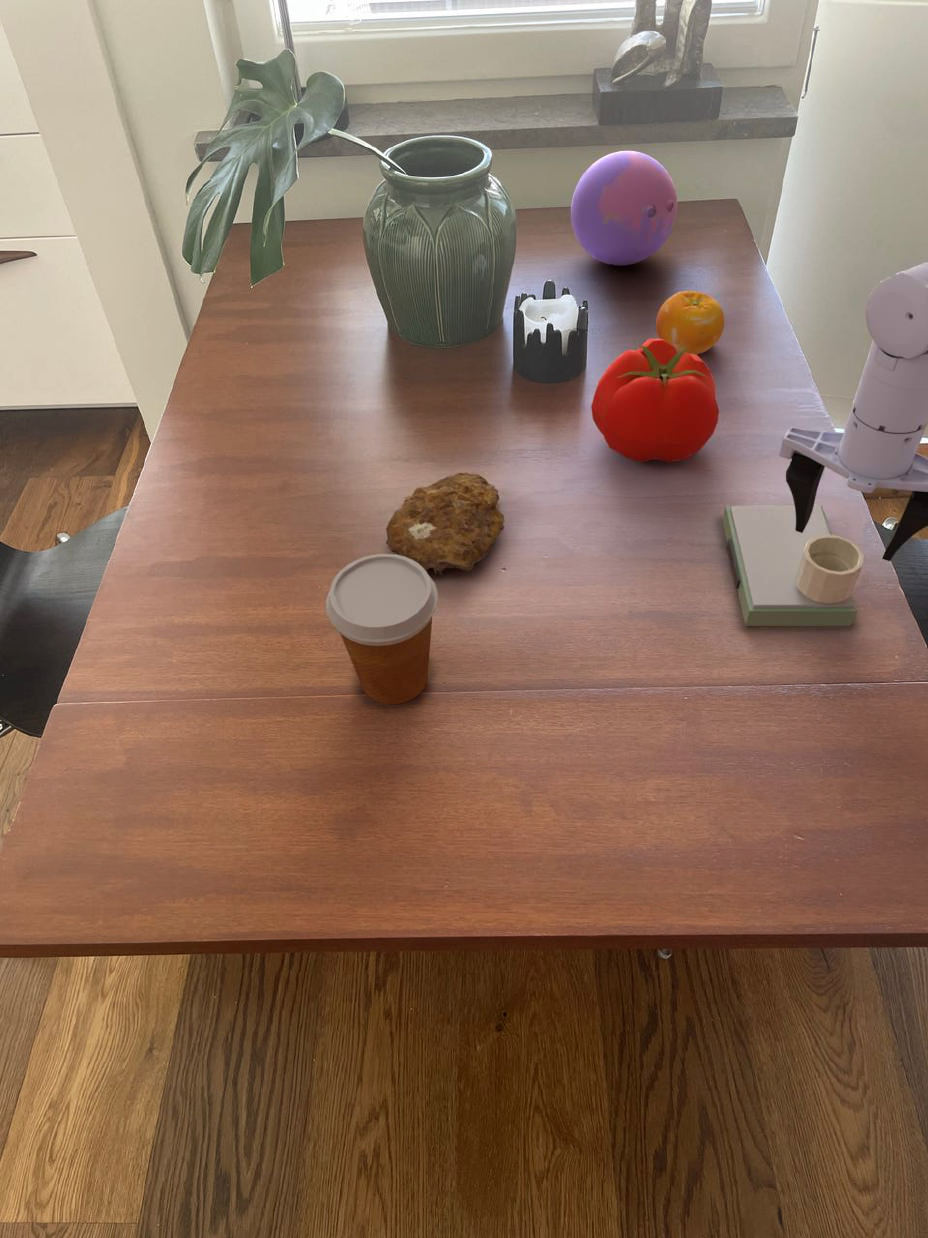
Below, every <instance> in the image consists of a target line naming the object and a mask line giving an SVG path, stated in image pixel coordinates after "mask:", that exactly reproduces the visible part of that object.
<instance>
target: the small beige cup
mask: <svg viewBox="0 0 928 1238" xmlns="http://www.w3.org/2000/svg"><path fill="white" fill-rule="evenodd" d="M864 561H865V556H864V554H863V551H862V549H861V548H860V547H859V546H858V545H857V544H856V543H854V542H853V541H852V540H850V539H847V538H845V537H844V536H840V535H833V534H832V535H822V536H817V537H814V538H812V539H811V540H810V541H808V542H807V543H806V546H805V549H804V552H803V555H802V558H801V561H800V564H799V568H798V571H797V574H796V577H795V582H796V585H797V588H798V589H799V590H800V591H801V592H802V593H803V594H804V595H805V596H806V597H808V598H809V599H811V600H813V601H816V602H819V603H825V604H831V603H837V602H842V601H844V600H845V599H847V598H848V597H849V596H850V595H851V594H852V595H853V591H854V588H855V586H856V583H857V580H858V578H859V575H860V573H861V570H862V568H863V564H864Z"/></svg>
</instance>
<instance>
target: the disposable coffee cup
mask: <svg viewBox="0 0 928 1238" xmlns="http://www.w3.org/2000/svg"><path fill="white" fill-rule="evenodd" d="M325 600H326V601H325V609H326V615H327V617H328V620H329V621H330V623H331V625H332V626H333V627H334V628H335V629H336V630H337V631H338V632H339V634H340V638H341V640H342V642H343V644H344V647H345V649H346V651H347V653H348V656H349V660H350V661H351V664H352V666H353V668H354V671H355V673H356V676H357V677H358V680H359V683H360V685H361V688H362V689H363V691H364V693H365V694H366V696H367V697H369V698H370V699H372V701H376V702H378V703H381V704H384V705H385V704H386V705H399V704H403V703H406V702H408V701H411V700H413V699H415V698H416V697H418V696H419V695H420V694H421V693H422V691H423V690H424V689H425V688H426V685H427V684H428V679H429V667H430V656H431V655H430V652H431V640H432V627H433V626H432V625H433V616H434V614H435V612H436V610H437V606H438V600H439V596H438V589H437V586H436V583H435V582H434V580H433V579H432V577H431V576H430V575H429V573H428V574H427V572H426V571H425V570H424V568H423V567H422V566H421V565H419V564H418V563H417V562H415V561H414V560H412V559H409V558H407V557H404V556H400V555H397V554H392V553H377V554H371V555H366V556H363V557H360V558H358V559H356V560H354V561H352V562H350V563H348V564H347V565H345V566H344V567H343V568H342V569H340V570H339V571H338V573H337V574H336V575H335V576H334V578H333V580H332V581H331V584H330V589H329V591H328V594H327V596H326V599H325Z"/></svg>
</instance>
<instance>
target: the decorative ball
mask: <svg viewBox="0 0 928 1238" xmlns="http://www.w3.org/2000/svg"><path fill="white" fill-rule="evenodd" d="M673 181H674V180H673V179H672V177H671V176H670V174H669V171H667V170H666V168H665V167H664V166H663V165H662V164H661V163H660V162H659V161H657V159H655V158H654V157H651V156H650V155H648V154H645V153H643V152H639V151H634V150H622V151H617V152H612V153H609V154H607V155H605V156H603V157H601V158H599V159H598V160H597V161H595V162H594V163H592V164H591V165H590V166H589V167H588V168H587V170H586V171H585V172H584V173H583V174H582V176H581V177H580V178H579V181H578V182H577V184H576V186H575V189H574V192H573V195H572V199H571V205H570V219H571V220H570V221H571V226H572V229H573V232H574V234H575V235H574V236H575V237H576V240H577V241H578V243H579V244H580V246H581V247H582V248H583V249H584V251H586V253H587V254H589V255H590V256H591V257H592V258H593V259H595V260H597V261H599V262H601V263H604V264H607V265H611V264H613V265H612V266H630V265H635V264H637V263H640V262H642V261H644V260H646V259H648V258H649V257H651V256H652V255H654V254H655V253H657V251H658V250H659V249H660V248H661V247H662V246H663V245H664V244H665V243H666V241H667V239H668V238H669V237H670V235H671V233H672V232H673V230H674V227H675V224H676V220H677V213H678V212H677V211H678V197H677V191H676V188H675V183H674V182H673ZM629 264H630V265H629Z"/></svg>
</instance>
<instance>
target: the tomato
mask: <svg viewBox="0 0 928 1238" xmlns="http://www.w3.org/2000/svg"><path fill="white" fill-rule="evenodd" d="M635 344H636V346H637V347H639V348H638V349H637V350H633V349H627V350H625V351H624V352H622V353H621V354H620V355H619V356H618V357H616V358H615V359H614V361H612V363H611V364H610V365H609V366H608V367H607V368H606V370H605V371H604V372H603V374H602V376H601V377H600V378H599V380H598V381H597V385H596V388H595V391H594V395H593V398H592V402H591V406H590V409H591V415H592V420H593V422H594V424H595V426H596V427H597V429H598V431H599V432H600V434H601V435H602V436H603V438H604V440H605V442H606V444H607V447H608V448H609V449H611V450H612V451H614V452H616V453H617V454H619V455H621V456H622V457H624V458H625V459H628V460H632V461H635V462H638V463H643V462H648V461H651V460H657V461H658V460H659V461H662V462H665V463H671V462H679V461H683V460H685V459H688V458H690V457H692V456H693V455H695V454H696V453H699V451H700V450H702V448H703V447H704V446H705V445H706V444H707V442H708V441H709V440H710V439H711V438H712V436H713V435H714V434H715V430H716V428H717V425H718V422H719V414H720V409H719V405H718V400H717V397H716V385H715V381H714V377H713V373H712V371H711V370H710V369H709V367H708V365H707V364H706V363H705V362H704V360H703V359H701V357H700V356H699V354H696V355H695V354H690V353H688V354H683V352H684V351H686V350H687V349H688V348H689V347H687V348H685V349H683V350H680V351H679V352H677V350H676V348H675V347H673V346H672V345H670V344H669V343H667V342H666V341H665V340H663V339H659V338H648V339H647V340H646V341H645V342H644V343H642V344H639V343H637V342H635Z"/></svg>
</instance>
